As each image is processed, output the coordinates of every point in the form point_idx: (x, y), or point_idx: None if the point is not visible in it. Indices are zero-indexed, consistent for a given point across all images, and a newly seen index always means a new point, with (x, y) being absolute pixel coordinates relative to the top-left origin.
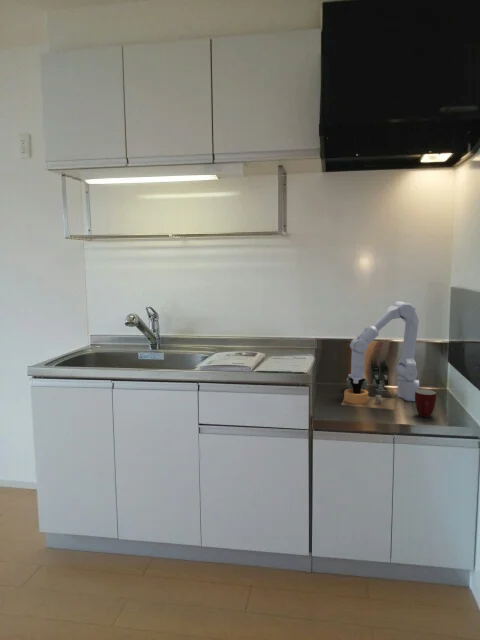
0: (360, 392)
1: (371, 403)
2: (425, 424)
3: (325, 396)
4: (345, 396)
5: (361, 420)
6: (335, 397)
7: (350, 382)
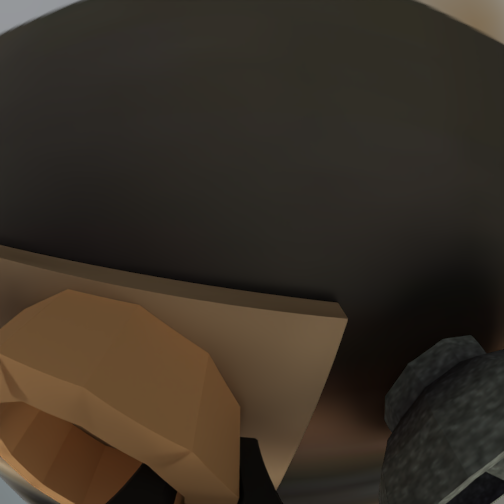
0: (180, 496)
1: None
2: (17, 490)
3: (338, 38)
4: (12, 326)
5: None
6: (313, 165)
7: (461, 465)
